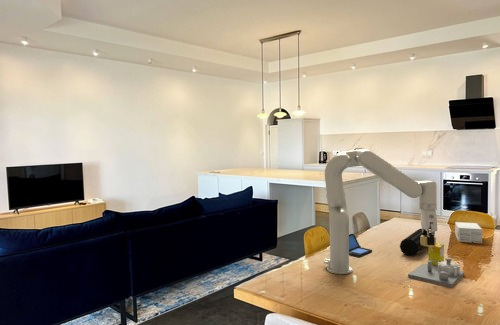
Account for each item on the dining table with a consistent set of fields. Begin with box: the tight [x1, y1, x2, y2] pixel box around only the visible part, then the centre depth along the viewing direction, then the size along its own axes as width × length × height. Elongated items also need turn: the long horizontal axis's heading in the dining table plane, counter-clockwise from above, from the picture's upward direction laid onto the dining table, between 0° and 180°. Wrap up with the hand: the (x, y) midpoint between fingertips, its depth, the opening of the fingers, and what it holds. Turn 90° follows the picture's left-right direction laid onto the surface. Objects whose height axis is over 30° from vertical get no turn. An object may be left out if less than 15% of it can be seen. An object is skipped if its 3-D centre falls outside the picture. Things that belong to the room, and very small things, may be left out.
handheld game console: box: [349, 233, 373, 258], centre depth 216 cm, size 16×13×9 cm
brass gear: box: [420, 235, 437, 247], centre depth 177 cm, size 7×7×4 cm
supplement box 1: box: [427, 242, 445, 266], centre depth 191 cm, size 6×6×11 cm
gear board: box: [407, 257, 465, 288], centre depth 176 cm, size 19×20×8 cm
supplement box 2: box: [454, 221, 483, 244], centre depth 239 cm, size 17×13×9 cm
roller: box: [399, 228, 430, 257], centre depth 221 cm, size 38×10×10 cm, turn 140°
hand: (428, 242), depth 177 cm, fingers closed on brass gear, 6 cm apart
